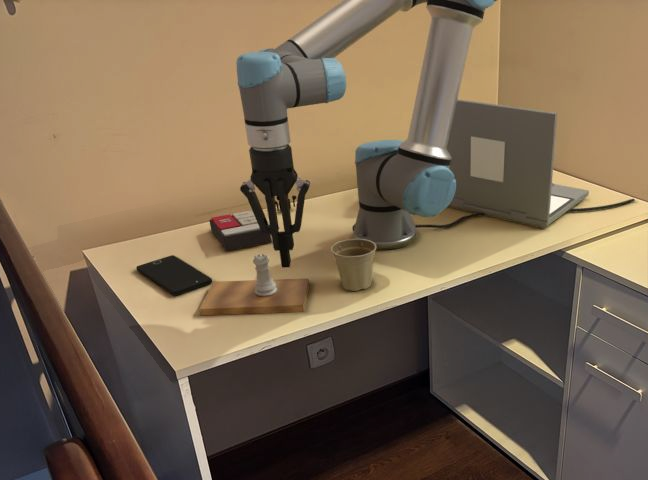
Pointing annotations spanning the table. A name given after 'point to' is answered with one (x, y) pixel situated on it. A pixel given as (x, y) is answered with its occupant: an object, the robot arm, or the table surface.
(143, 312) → the table surface
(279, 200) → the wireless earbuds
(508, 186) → the laptop
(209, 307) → the board
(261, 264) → the rook chess piece
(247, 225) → the calculator
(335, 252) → the flower pot
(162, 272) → the cell phone
